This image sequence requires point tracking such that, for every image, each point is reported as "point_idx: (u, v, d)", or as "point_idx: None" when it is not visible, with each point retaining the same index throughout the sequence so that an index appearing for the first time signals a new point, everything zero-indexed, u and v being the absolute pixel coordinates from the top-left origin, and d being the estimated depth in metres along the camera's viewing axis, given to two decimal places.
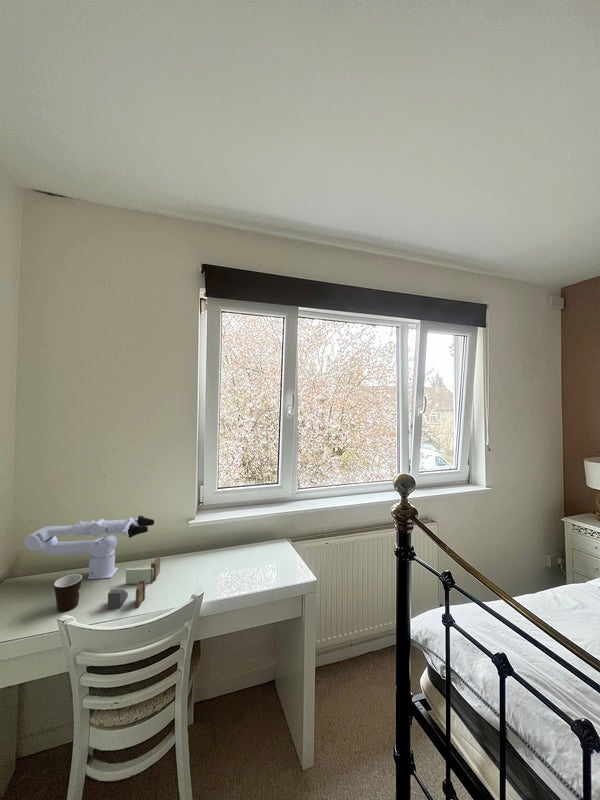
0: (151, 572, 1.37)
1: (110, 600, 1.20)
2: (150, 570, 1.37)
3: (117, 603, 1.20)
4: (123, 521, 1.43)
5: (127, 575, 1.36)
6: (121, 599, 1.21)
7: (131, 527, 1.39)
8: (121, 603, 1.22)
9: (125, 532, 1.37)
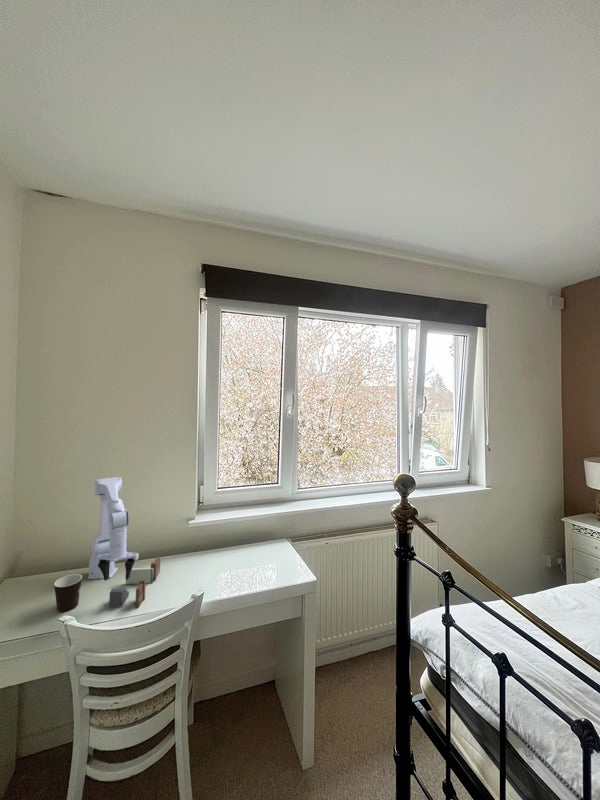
0: (151, 572, 1.37)
1: (112, 599, 1.21)
2: (150, 570, 1.37)
3: (119, 602, 1.21)
4: (112, 552, 1.20)
5: None
6: (122, 598, 1.22)
7: None
8: (123, 602, 1.22)
9: None
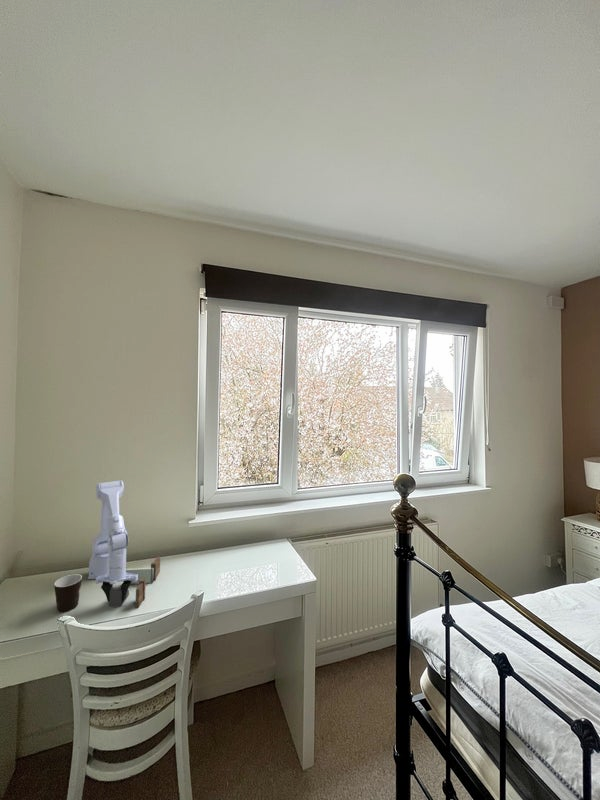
0: (151, 572, 1.37)
1: (112, 597, 1.21)
2: (150, 570, 1.37)
3: (118, 600, 1.22)
4: (112, 574, 1.20)
5: None
6: None
7: None
8: None
9: None
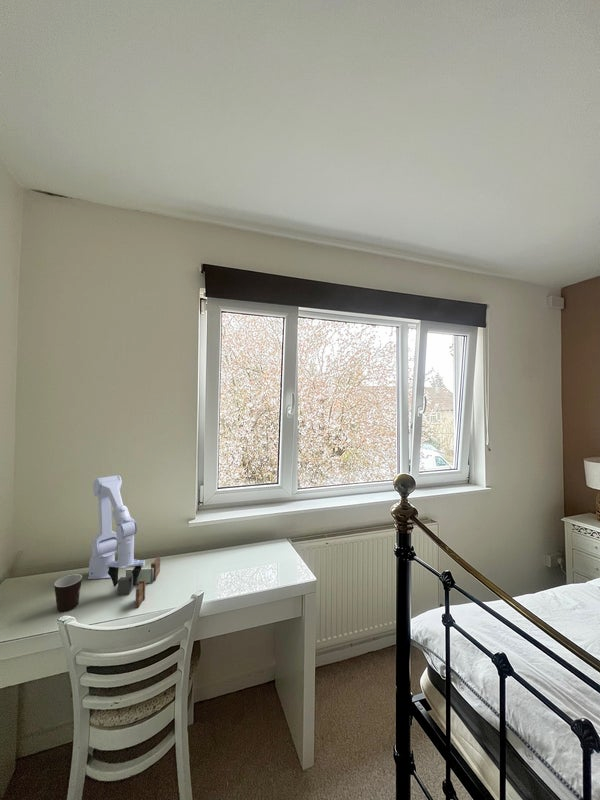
0: (151, 572, 1.37)
1: (120, 587, 1.28)
2: (150, 570, 1.37)
3: (126, 589, 1.29)
4: (121, 559, 1.27)
5: (127, 575, 1.36)
6: (130, 586, 1.30)
7: None
8: (130, 590, 1.30)
9: None
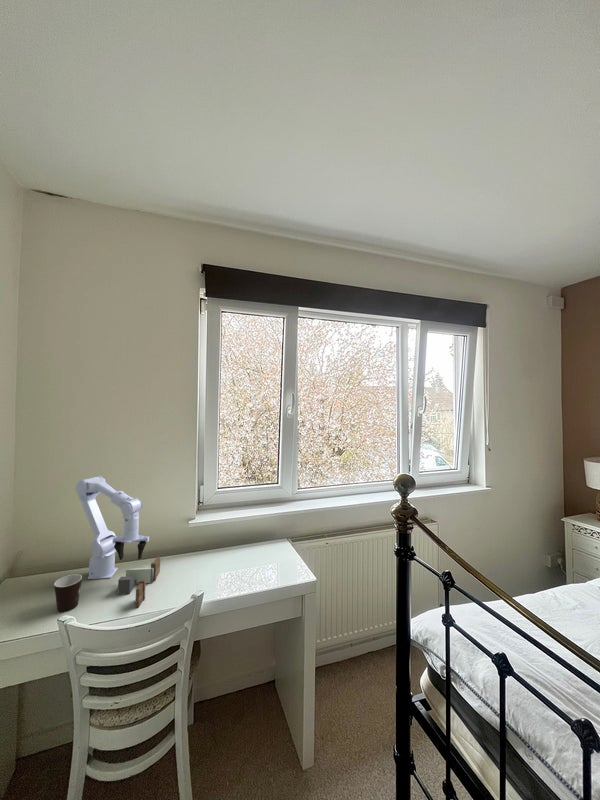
0: (151, 572, 1.37)
1: (120, 586, 1.29)
2: (150, 570, 1.37)
3: (127, 589, 1.29)
4: (126, 534, 1.36)
5: (127, 575, 1.36)
6: (130, 586, 1.30)
7: None
8: (130, 589, 1.30)
9: None
